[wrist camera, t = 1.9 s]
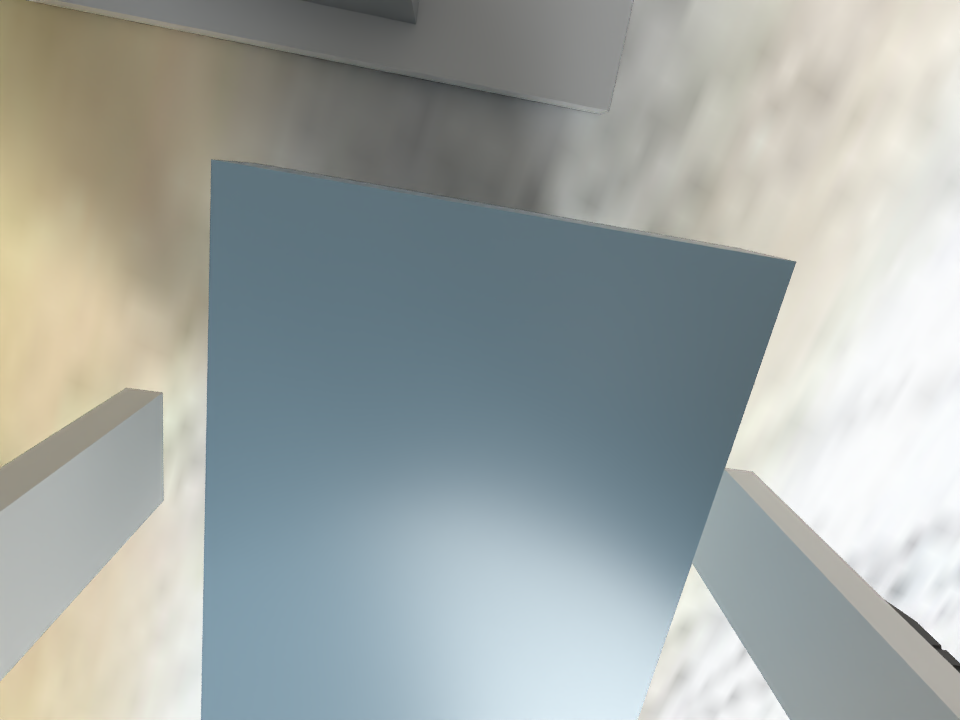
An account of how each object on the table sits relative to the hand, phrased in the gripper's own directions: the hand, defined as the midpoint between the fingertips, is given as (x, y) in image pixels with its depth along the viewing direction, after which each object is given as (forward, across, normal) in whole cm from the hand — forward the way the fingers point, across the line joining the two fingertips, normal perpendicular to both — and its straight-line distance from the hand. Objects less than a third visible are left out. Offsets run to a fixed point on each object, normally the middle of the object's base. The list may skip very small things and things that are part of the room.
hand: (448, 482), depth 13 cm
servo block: (+4, 0, 0) cm, 4 cm away
